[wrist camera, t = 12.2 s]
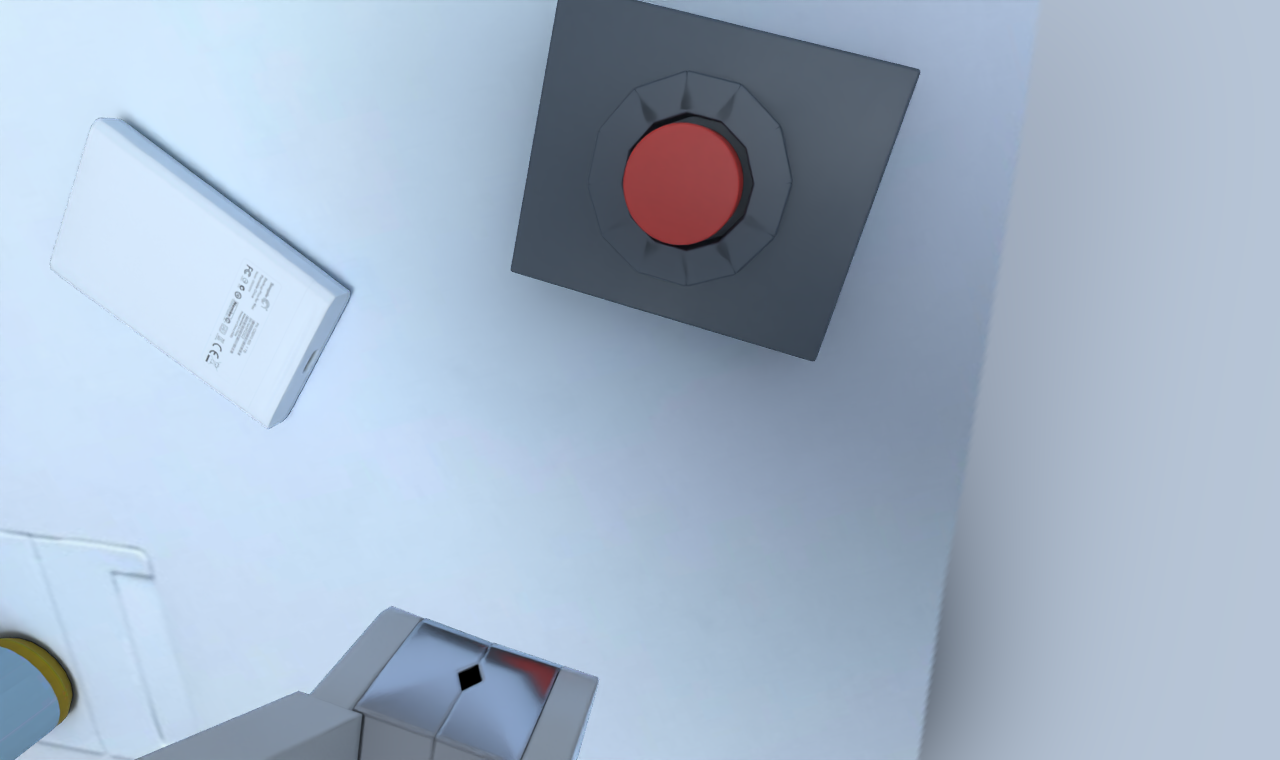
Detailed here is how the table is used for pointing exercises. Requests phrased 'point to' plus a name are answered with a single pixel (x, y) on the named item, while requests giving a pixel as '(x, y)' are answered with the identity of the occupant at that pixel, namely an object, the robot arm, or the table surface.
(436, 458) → the table surface
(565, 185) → the control block
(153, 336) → the hard drive
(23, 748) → the bottle
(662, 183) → the button
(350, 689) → the robot arm
